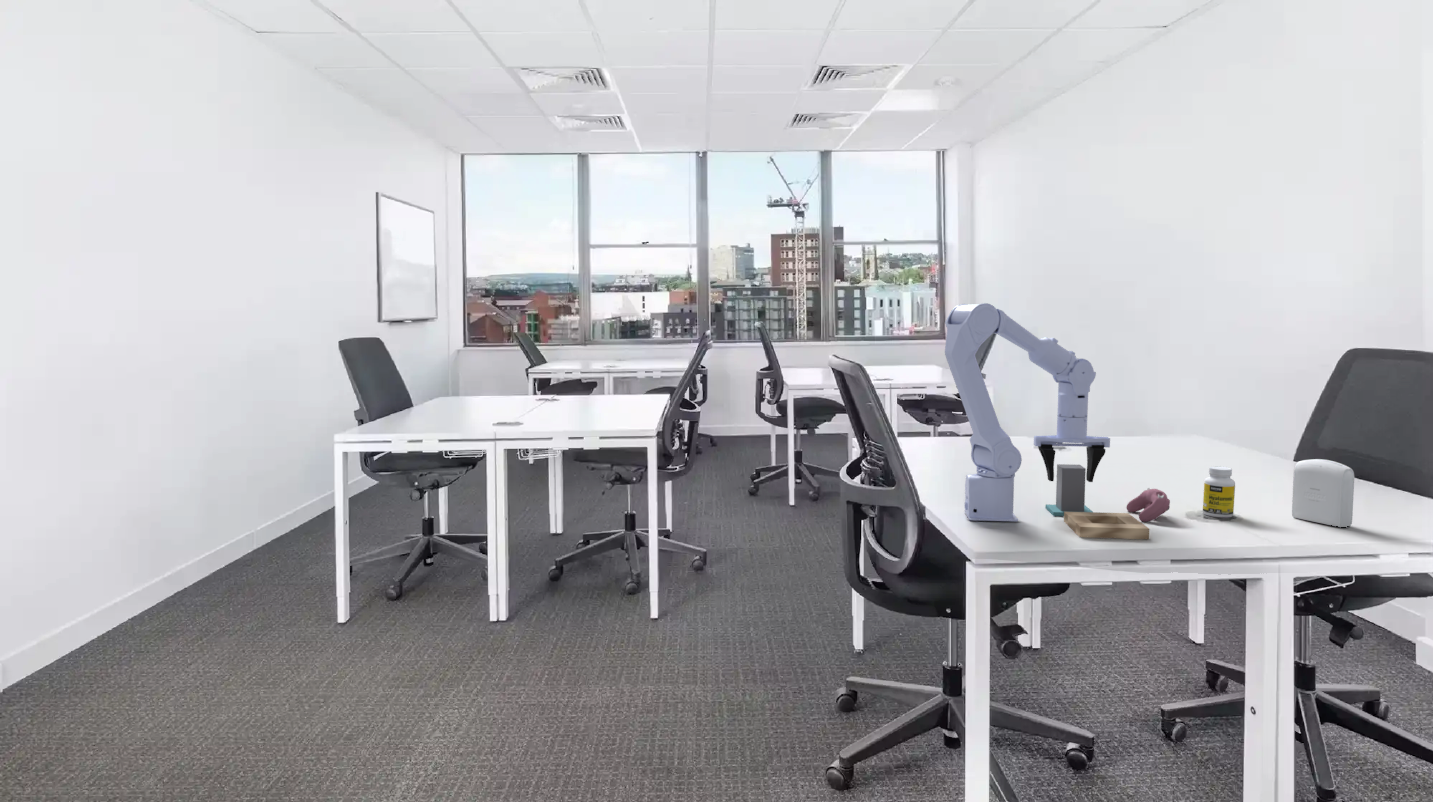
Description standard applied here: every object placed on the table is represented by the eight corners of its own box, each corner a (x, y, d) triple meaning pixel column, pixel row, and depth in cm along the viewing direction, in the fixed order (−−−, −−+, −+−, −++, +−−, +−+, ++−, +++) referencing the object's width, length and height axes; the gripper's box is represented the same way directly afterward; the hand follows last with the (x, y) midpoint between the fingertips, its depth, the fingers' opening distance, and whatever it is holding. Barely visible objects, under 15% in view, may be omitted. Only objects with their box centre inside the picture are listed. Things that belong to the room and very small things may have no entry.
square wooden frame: (1079, 537, 153) (1080, 526, 153) (1063, 521, 165) (1064, 511, 165) (1149, 539, 151) (1149, 528, 151) (1127, 523, 163) (1128, 513, 163)
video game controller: (1159, 530, 163) (1178, 500, 162) (1138, 519, 164) (1156, 489, 163) (1143, 518, 173) (1161, 489, 172) (1123, 508, 173) (1140, 479, 172)
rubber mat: (1053, 515, 170) (1053, 511, 170) (1045, 508, 177) (1045, 504, 177) (1094, 516, 168) (1094, 513, 168) (1085, 508, 175) (1085, 505, 175)
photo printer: (1287, 517, 166) (1290, 456, 165) (1301, 515, 168) (1305, 455, 166) (1340, 529, 156) (1345, 465, 155) (1356, 527, 158) (1360, 463, 157)
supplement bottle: (1204, 516, 167) (1207, 469, 166) (1200, 510, 172) (1202, 464, 171) (1236, 519, 165) (1238, 470, 164) (1230, 512, 170) (1233, 466, 169)
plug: (1061, 511, 170) (1062, 468, 169) (1055, 506, 175) (1057, 464, 174) (1084, 511, 170) (1085, 468, 169) (1078, 506, 174) (1079, 464, 173)
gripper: (1039, 417, 168) (1037, 483, 169) (1115, 418, 165) (1113, 485, 167) (1032, 413, 175) (1030, 477, 176) (1105, 414, 172) (1102, 478, 174)
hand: (1070, 480), depth 172 cm, fingers open, 7 cm apart
